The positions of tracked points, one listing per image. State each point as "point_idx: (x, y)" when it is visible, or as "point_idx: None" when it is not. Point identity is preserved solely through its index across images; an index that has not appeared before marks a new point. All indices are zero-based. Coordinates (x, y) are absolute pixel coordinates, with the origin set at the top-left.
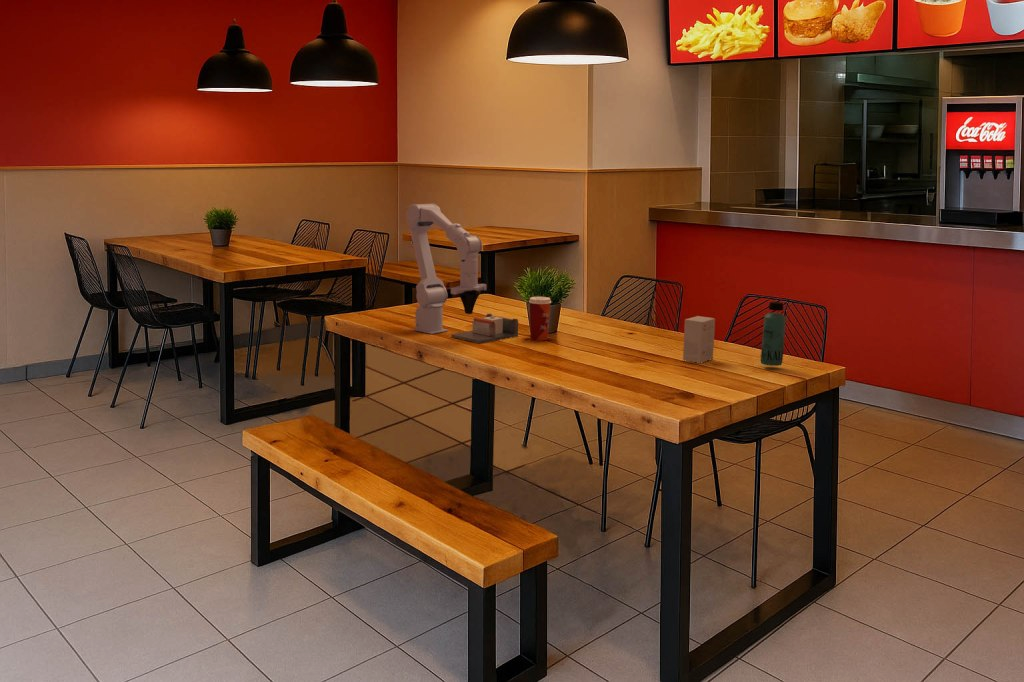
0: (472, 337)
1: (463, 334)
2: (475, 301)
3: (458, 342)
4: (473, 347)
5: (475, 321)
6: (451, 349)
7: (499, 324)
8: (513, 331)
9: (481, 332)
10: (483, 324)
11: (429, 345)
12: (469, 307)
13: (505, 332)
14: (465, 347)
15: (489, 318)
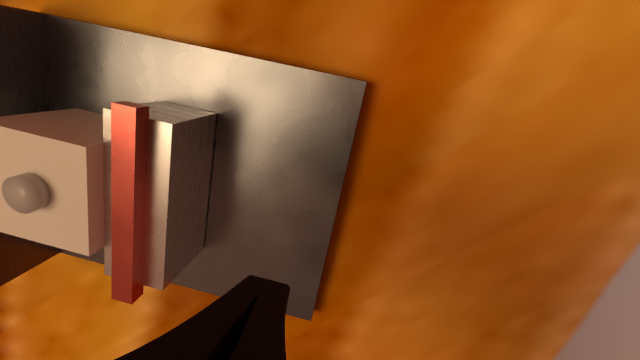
0: (308, 182)
1: (271, 267)
2: (141, 352)
3: (406, 215)
4: (495, 52)
5: (159, 268)
6: (633, 141)
7: (51, 121)
8: (33, 27)
9: (203, 184)
10: (174, 183)
11: (574, 307)
12: (283, 333)
13: (60, 94)
14: (523, 98)
15: (59, 202)
